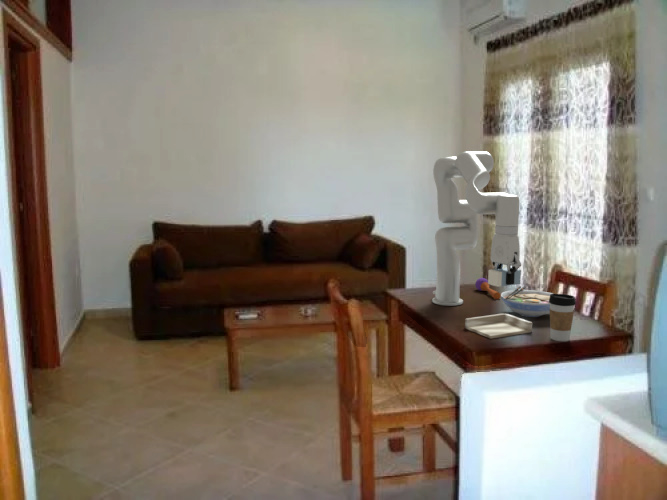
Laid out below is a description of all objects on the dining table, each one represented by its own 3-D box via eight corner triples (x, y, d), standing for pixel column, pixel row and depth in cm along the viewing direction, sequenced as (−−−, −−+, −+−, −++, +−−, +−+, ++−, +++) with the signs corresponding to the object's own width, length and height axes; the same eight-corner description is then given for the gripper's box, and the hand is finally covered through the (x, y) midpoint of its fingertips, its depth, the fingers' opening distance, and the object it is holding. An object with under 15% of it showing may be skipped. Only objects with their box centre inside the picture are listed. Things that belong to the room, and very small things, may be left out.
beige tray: (464, 328, 221) (465, 318, 220) (504, 322, 229) (505, 313, 228) (490, 338, 209) (491, 328, 208) (531, 332, 216) (532, 322, 216)
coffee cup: (542, 335, 212) (544, 292, 210) (566, 334, 213) (569, 292, 211) (553, 342, 204) (555, 298, 202) (578, 342, 205) (580, 297, 202)
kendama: (489, 290, 263) (472, 277, 283) (491, 303, 265) (474, 290, 284) (502, 287, 264) (485, 275, 283) (504, 300, 265) (486, 287, 285)
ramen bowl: (553, 327, 223) (554, 304, 221) (490, 318, 235) (491, 296, 233) (568, 312, 243) (569, 291, 242) (510, 304, 256) (511, 284, 254)
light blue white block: (510, 281, 221) (511, 267, 220) (520, 284, 216) (521, 269, 215) (488, 283, 216) (488, 269, 216) (497, 286, 212) (498, 272, 211)
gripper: (481, 228, 219) (480, 279, 222) (515, 234, 204) (512, 288, 207) (498, 227, 223) (496, 277, 225) (532, 233, 207) (530, 286, 210)
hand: (504, 282), depth 216 cm, fingers closed on light blue white block, 5 cm apart
